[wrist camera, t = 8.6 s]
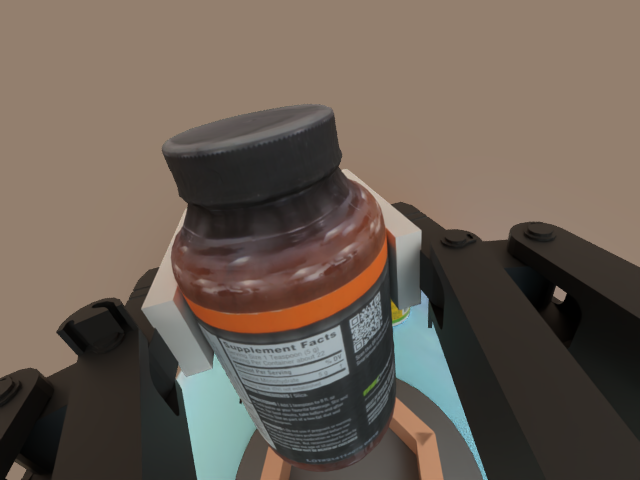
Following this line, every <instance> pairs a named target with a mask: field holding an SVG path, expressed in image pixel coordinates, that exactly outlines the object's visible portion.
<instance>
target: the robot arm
mask: <svg viewBox="0 0 640 480" xmlns="http://www.w3.org/2000/svg"><path fill="white" fill-rule="evenodd" d="M341 171H342V172H343V173H344V175H345V176H346V177H347V178H348V179H351V180H353V181H356V182H358V183H359V184H361V185H362V186H363V187H365V188H366V189H367V190H368V191H369V192H370V193H371V194H372V195H373V196H374V198H375V199H376V200H377V202H378V204H379V205H380V207H381V210H382V214H383V218H384V223H385V227H386V236H387V252H388V261H389V279H390V296H391V300H392V301H393V303H394V304H395V306H396V307H397V308H398V310H402V309H405V308H408V307H411V306H415V305H418V304H421V290H422V291H423V292H424V294H425V295H426V296H427V297H428V298H429V304H428V328H432V321H433V324H434V327H435V330H436V333H437V336H438V338H439V341H440V344H441V347H442V350H443V353H444V356H445V358H446V361H447V364H448V367H449V370H450V373H451V376H452V378H453V381H454V384H455V387H456V390H457V393H458V396H459V398H460V401H461V404H462V407H463V410H464V413H465V416H466V418H467V421H468V424H469V427H470V430H471V433H472V436H473V439H474V441H475V444H476V447H477V450H478V453H479V456H480V459H481V461H482V464H483V467H484V470H485V473H486V476H487V479H488V480H640V267H638V266H636V265H634V264H632V263H630V262H628V261H626V260H624V259H622V258H620V257H618V256H616V255H614V254H612V253H610V252H608V251H606V250H604V249H602V248H600V247H598V246H596V245H594V244H592V243H590V242H588V241H586V240H584V239H582V238H580V237H578V236H576V235H574V234H572V233H570V232H568V231H566V230H564V229H562V228H560V227H557V226H554V225H551V224H546V223H543V222H526V223H520V224H517V225H515V226H513V227H512V228H511V229H510V233H509V238H508V240H498V241H482V240H481V239H480V238H479V237H478V236H476V235H475V234H473V233H470V232H468V231H464V230H458V229H457V230H455V229H454V230H445V229H444V228H443V227H441V226H440V225H439V224H437V223H436V222H434V221H433V220H432V219H430V218H429V217H427V216H426V215H425V214H423V213H422V212H420V211H419V210H418V209H417V208H415V207H414V206H412V205H409V204H406V203H403V202H399V203H395V204H391V205H390V204H389V203H388V202H387V201H385V200H384V199H383V198H382V197H381V196H379V195H378V194H377V193H376V192H375V191H373V190H372V189H371V188H370V187H369V186H367V185H366V184H365V183H364V182H362V181H361V180H360V179H359V178H358V177H356V176H355V175H354V174H353V173H352V172H350V171H349V170H348V169H344V170H341ZM186 211H187V208H186V209H185V211H184V213H183V216H182V218H181V221H180V222H179V225H178V227H177V229H176V232H175V234H174V236H173V238H172V240H171V243H170V245H169V247H168V249H167V252H166V254H165V256H164V259H163V261H162V263H161V265H160V267H158V268H154V269H151V270H148V271H147V272H146V273H145V274H144V275H143V276H142V277H141V278H140V279H139V280H138V282H137V284H136V286H135V288H134V289H133V291H134V292H132V293H131V295H130V297H129V300H128V301H127V303H126V305H125V306H124V305H123V303H122V302H121V301H120V299H116V298H105V299H102V300H99V301H96V302H93V303H91V304H89V305H87V306H85V307H83V308H81V309H79V310H78V311H76V312H75V313H73V314H72V315H71V316H69V317H68V318H67V319H66V320H65V321H64V322H63V323H62V324H61V325H60V327H59V329H58V330H57V334H58V335H60V337H61V338H62V339H63V340H64V341H65V342H66V343H67V344H68V346H69V347H70V348H71V349H72V350H73V351H74V352H75V353H76V354H77V355H78V360H77V363H75V364H73V365H71V366H69V367H67V368H65V369H63V370H61V371H59V372H57V373H55V374H53V375H51V376H49V377H47V378H46V377H44V376H43V375H42V374H41V373H40V372H39V371H38V370H37V369H33V368H27V369H22V370H18V371H16V372H14V373H11V374H9V375H6V376H4V377H2V378H0V480H7V479H5V477H6V476H7V474H8V472H9V470H10V468H11V466H12V465H13V463H14V461H15V462H16V463H18V464H19V465H21V466H22V467H24V468H25V469H27V470H26V472H25V474H24V476H23V478H22V479H21V480H197V476H196V471H195V465H194V459H193V453H192V447H191V441H190V435H189V429H188V423H187V418H186V412H185V406H184V400H183V394H182V389H181V387H180V385H179V383H178V382H177V380H176V379H175V377H176V372H177V368H178V365H179V367H180V368H181V370H182V371H183V373H184V374H185V376H186V377H187V376H191V375H194V374H197V373H200V372H203V371H207V370H210V369H212V367H213V357H214V351H213V349H212V347H211V345H210V344H209V342H208V341H207V339H206V337H205V335H204V334H203V332H202V330H201V329H200V326H199V324H198V322H197V320H196V318H195V316H194V313H193V311H192V310H191V308H190V306H189V304H188V303H187V301H186V299H185V297H184V295H183V294H182V292H181V290H180V288H179V286H178V284H177V282H176V280H175V277H174V274H173V270H172V264H171V250H172V246H173V243H174V240H175V236H176V235H177V234H178V232H179V231H180V230H181V227H182V226H183V223H184V219H185V215H186ZM556 286H558V287H559V288H561V289H562V290H563V291H565V292H566V293H567V294H566V297H565V300H564V301H563V302H562V301H560V300H558V299H557V298H555V297H554V296H553V294H554V290H555V287H556Z"/></svg>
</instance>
